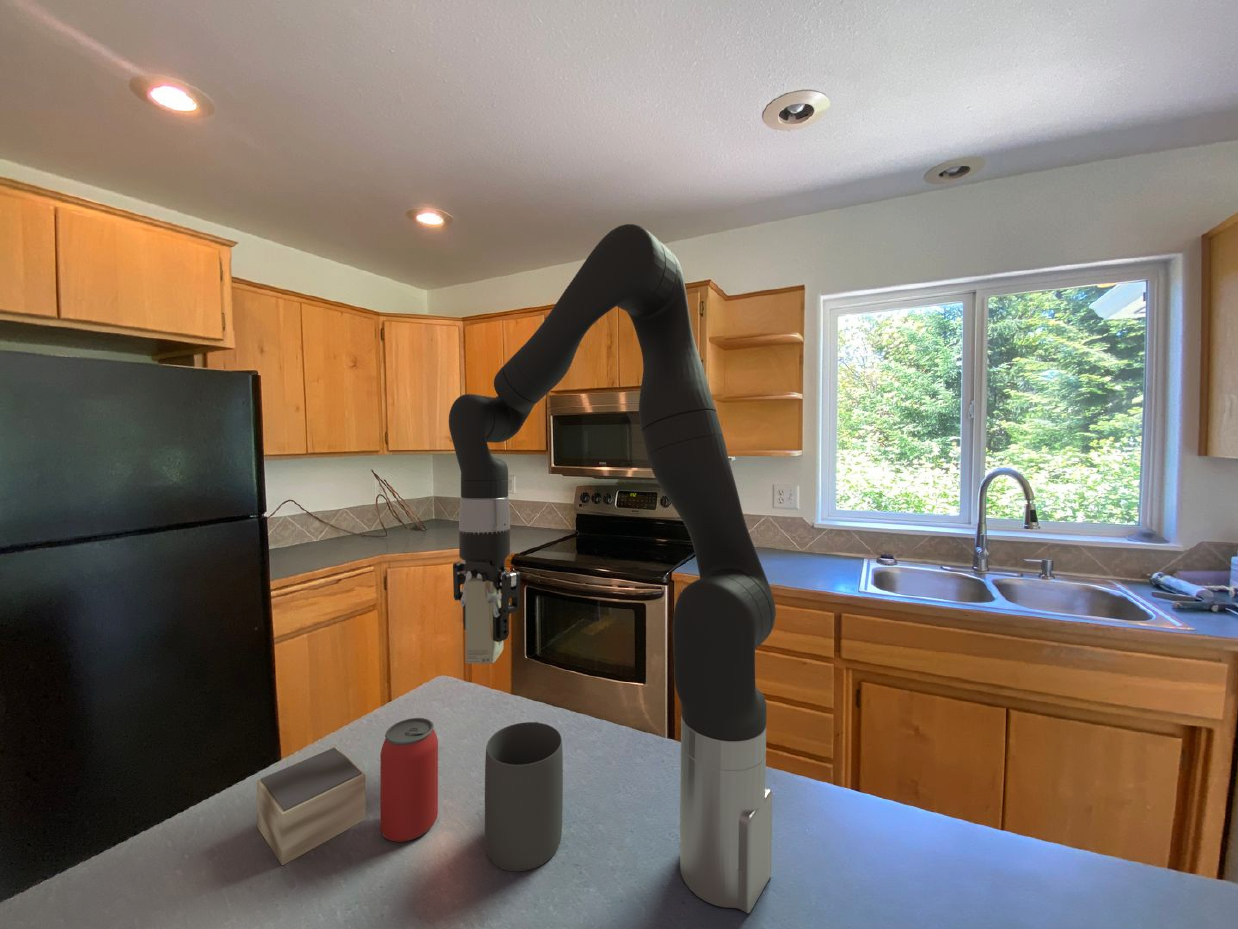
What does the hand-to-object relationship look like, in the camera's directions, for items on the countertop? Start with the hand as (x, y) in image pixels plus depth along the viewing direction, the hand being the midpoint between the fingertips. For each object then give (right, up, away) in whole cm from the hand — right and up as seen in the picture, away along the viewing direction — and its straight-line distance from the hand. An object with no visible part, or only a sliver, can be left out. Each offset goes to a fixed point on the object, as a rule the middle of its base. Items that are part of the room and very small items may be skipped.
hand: (485, 634), depth 74 cm
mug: (+9, -19, -14) cm, 26 cm away
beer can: (-6, -19, -14) cm, 24 cm away
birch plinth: (-18, -19, -14) cm, 29 cm away
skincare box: (0, -4, 0) cm, 4 cm away
